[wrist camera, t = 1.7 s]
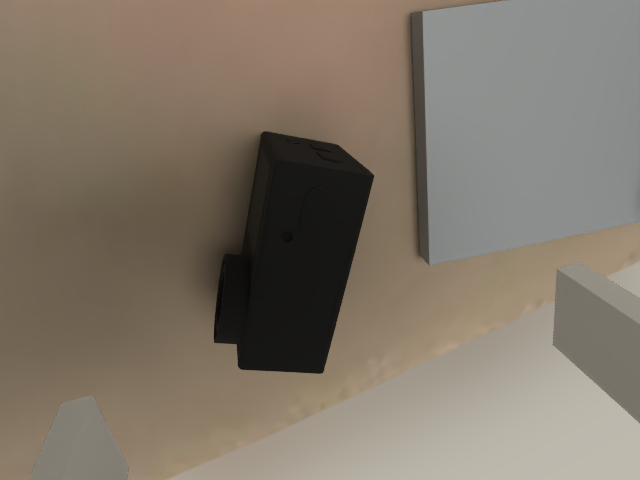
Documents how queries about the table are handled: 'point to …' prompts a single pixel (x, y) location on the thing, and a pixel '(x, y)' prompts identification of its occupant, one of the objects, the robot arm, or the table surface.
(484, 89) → the mounting plate
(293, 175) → the digital camera
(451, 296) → the table surface
